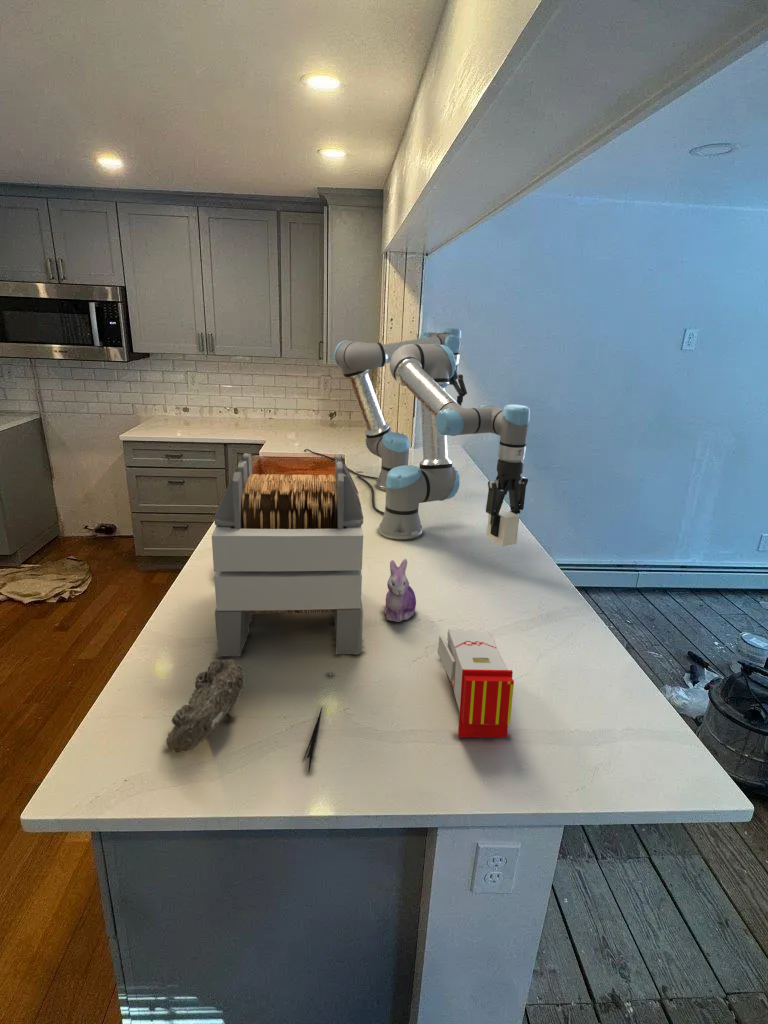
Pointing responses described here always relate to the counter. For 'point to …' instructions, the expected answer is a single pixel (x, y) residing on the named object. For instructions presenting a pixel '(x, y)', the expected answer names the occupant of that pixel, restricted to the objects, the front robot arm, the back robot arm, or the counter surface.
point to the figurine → (399, 594)
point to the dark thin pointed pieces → (313, 740)
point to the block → (505, 528)
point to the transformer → (288, 552)
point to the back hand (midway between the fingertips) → (446, 410)
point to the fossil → (206, 705)
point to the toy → (478, 682)
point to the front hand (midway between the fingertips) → (501, 533)
